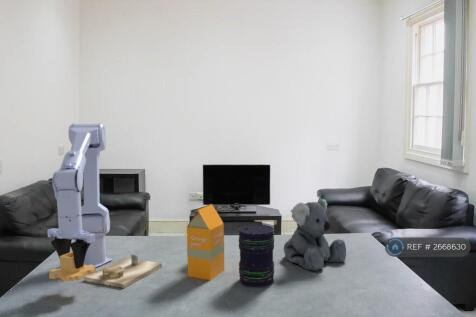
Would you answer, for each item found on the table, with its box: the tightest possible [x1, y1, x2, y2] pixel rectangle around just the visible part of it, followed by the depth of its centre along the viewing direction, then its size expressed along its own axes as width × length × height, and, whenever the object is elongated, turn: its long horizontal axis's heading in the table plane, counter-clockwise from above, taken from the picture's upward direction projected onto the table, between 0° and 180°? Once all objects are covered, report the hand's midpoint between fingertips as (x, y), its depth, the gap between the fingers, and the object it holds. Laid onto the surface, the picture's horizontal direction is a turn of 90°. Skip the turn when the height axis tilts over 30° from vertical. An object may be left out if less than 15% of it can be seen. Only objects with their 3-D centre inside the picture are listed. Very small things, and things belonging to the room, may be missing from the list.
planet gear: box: [48, 251, 97, 283], centre depth 118 cm, size 10×10×5 cm
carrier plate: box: [83, 253, 162, 289], centre depth 133 cm, size 14×18×4 cm
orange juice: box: [186, 203, 225, 281], centre depth 132 cm, size 8×9×20 cm
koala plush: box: [283, 198, 347, 272], centre depth 142 cm, size 17×18×20 cm
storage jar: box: [238, 224, 275, 289], centre depth 126 cm, size 10×10×15 cm
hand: (72, 266), depth 118 cm, fingers closed on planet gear, 4 cm apart
